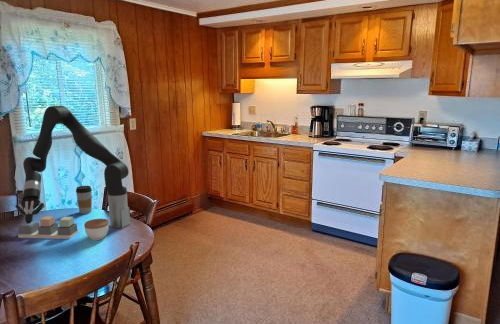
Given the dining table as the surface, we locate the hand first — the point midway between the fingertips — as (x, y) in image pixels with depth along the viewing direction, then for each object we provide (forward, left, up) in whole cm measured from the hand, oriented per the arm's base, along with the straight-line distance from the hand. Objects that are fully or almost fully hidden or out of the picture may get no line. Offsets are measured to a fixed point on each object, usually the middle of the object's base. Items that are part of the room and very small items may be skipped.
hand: (28, 222), depth 172 cm
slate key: (0, 0, -4) cm, 4 cm away
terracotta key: (-9, -3, -1) cm, 10 cm away
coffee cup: (+1, -35, -7) cm, 36 cm away
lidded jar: (-33, -10, -7) cm, 35 cm away
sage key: (-18, -6, -1) cm, 19 cm away
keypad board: (-9, -3, -6) cm, 11 cm away
